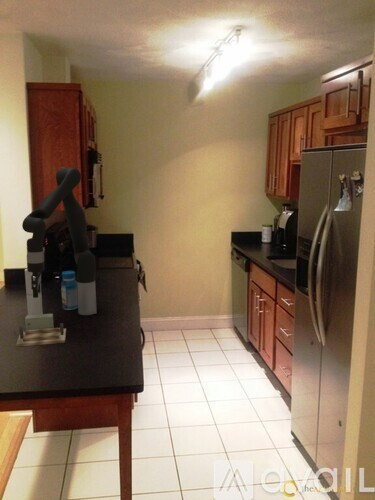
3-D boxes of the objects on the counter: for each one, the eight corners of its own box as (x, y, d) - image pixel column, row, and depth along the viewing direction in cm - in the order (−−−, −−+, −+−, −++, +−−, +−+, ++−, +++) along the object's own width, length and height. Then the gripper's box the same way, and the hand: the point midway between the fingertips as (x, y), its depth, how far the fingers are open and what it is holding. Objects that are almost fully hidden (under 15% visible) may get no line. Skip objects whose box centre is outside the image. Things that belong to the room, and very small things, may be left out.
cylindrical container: (27, 319, 220) (24, 271, 215) (28, 314, 227) (25, 267, 222) (42, 318, 222) (39, 270, 217) (43, 313, 229) (40, 267, 224)
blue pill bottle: (74, 310, 233) (72, 274, 229) (59, 309, 235) (57, 273, 231) (80, 306, 241) (79, 270, 237) (66, 305, 243) (64, 270, 239)
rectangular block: (53, 327, 210) (52, 313, 209) (52, 331, 205) (52, 317, 203) (27, 329, 207) (26, 315, 206) (25, 333, 202) (24, 319, 201)
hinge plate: (66, 330, 205) (65, 318, 204) (64, 342, 192) (64, 329, 191) (20, 334, 201) (19, 321, 199) (16, 346, 187) (15, 333, 186)
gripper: (42, 264, 195) (43, 299, 198) (45, 257, 209) (47, 290, 212) (24, 264, 194) (26, 299, 197) (29, 258, 207) (30, 291, 210)
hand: (36, 294), depth 204 cm, fingers open, 8 cm apart
